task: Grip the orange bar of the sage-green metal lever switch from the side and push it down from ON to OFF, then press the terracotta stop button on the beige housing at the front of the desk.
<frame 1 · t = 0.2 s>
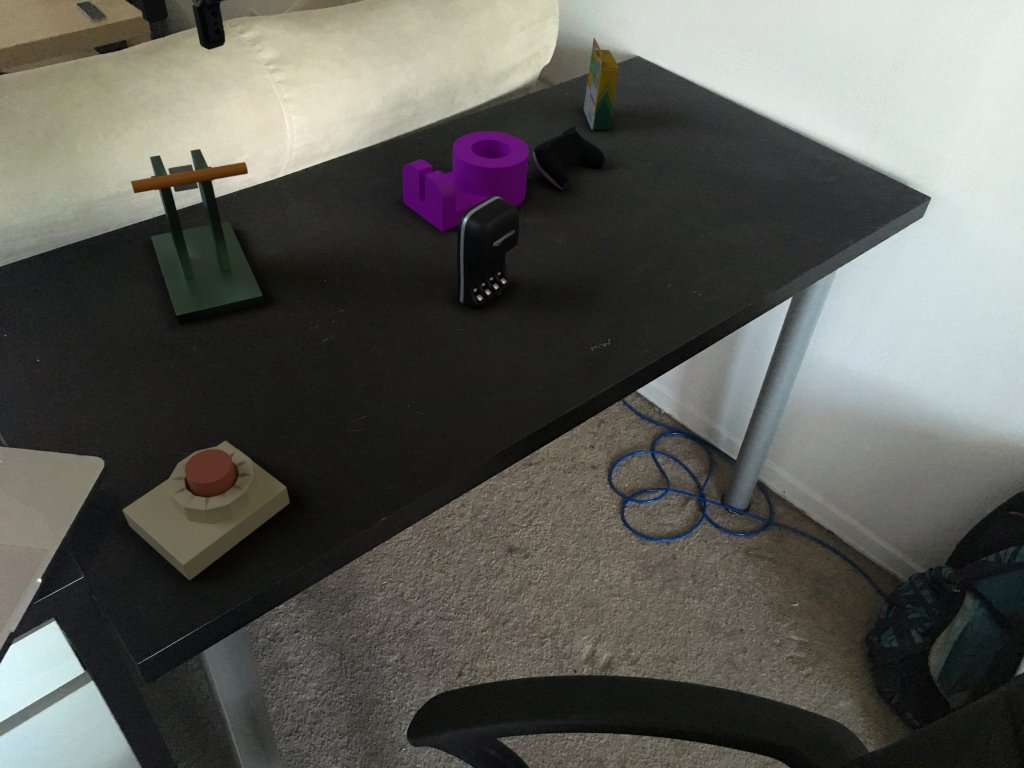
hand: (184, 33, 73), 26 cm above the table, tool pointing down, fingers open, 8 cm apart
stop button: (210, 472, 63), point 4 cm above the table, slide at 0.1 cm
battery charger: (487, 296, 90), on the table
gaming controller: (565, 173, 112), on the table
stop housing: (211, 514, 66), on the table
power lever: (186, 177, 77), point 14 cm above the table, hinge at 28.0°
purple bearing bracket: (471, 199, 105), on the table
crayon box: (596, 121, 125), on the table
switch bracket: (206, 273, 90), on the table
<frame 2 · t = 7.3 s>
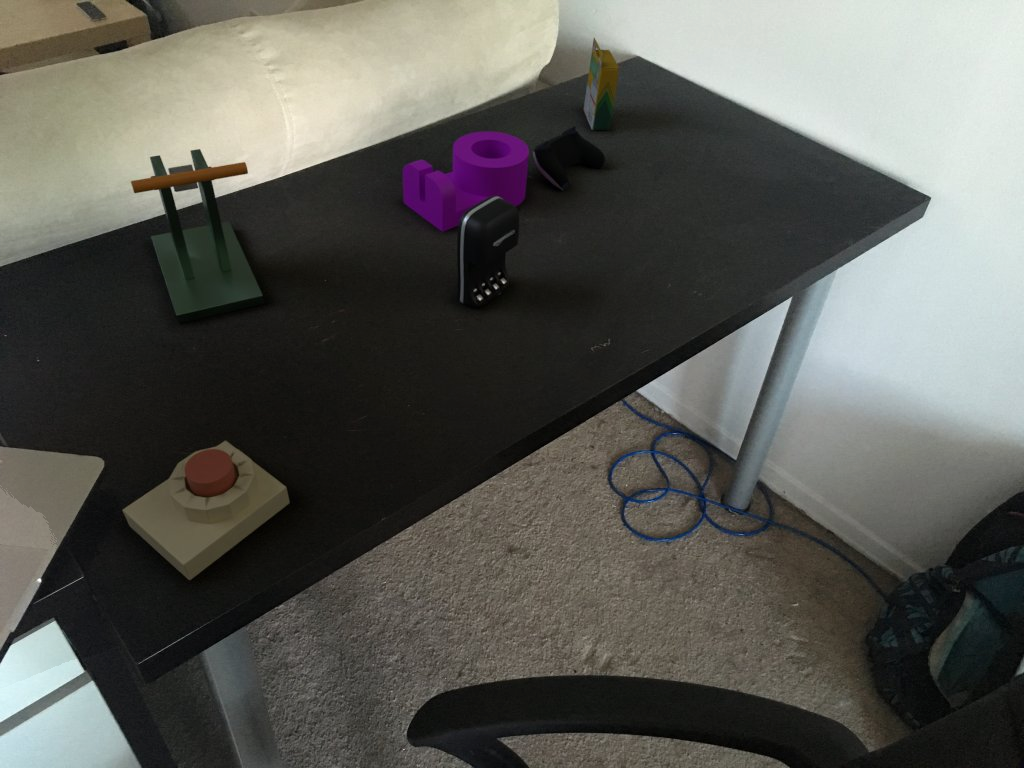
nothing on the table moved.
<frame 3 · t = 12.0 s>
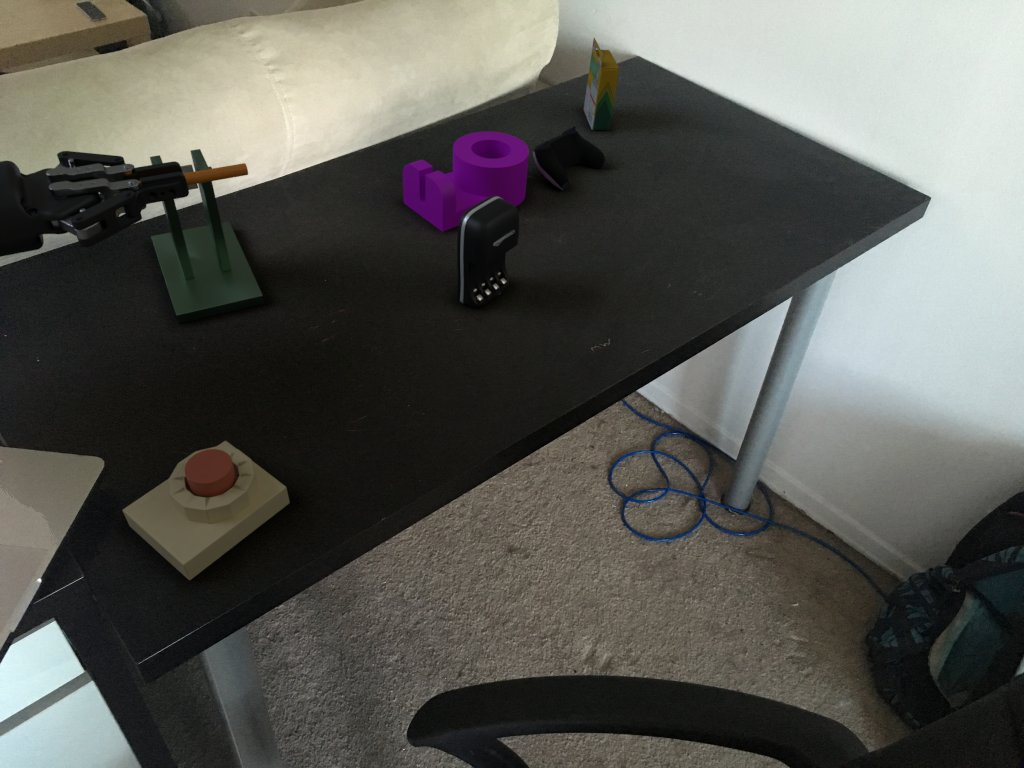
hand: (183, 178, 72), 17 cm above the table, tool horizontal, fingers closed
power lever: (186, 178, 77), point 14 cm above the table, hinge at 27.5°, touching gripper
everything else where it was.
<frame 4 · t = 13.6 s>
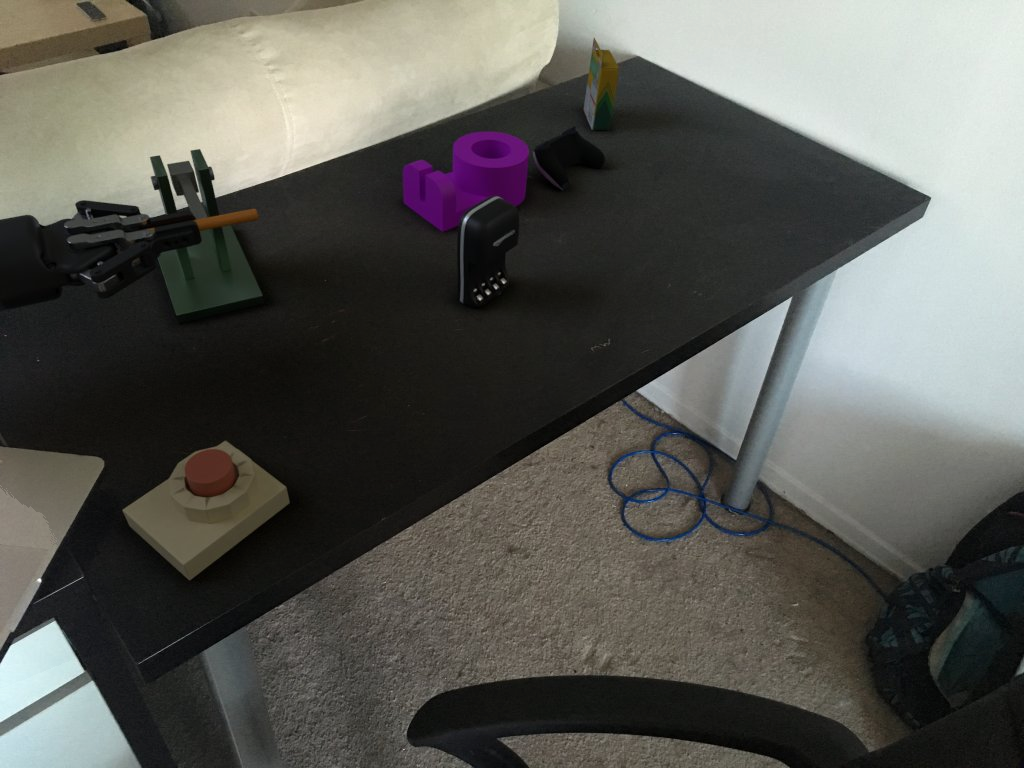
hand: (196, 226, 74), 13 cm above the table, tool horizontal, fingers closed
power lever: (191, 198, 78), point 12 cm above the table, hinge at 4.7°, touching gripper
everything else where it was.
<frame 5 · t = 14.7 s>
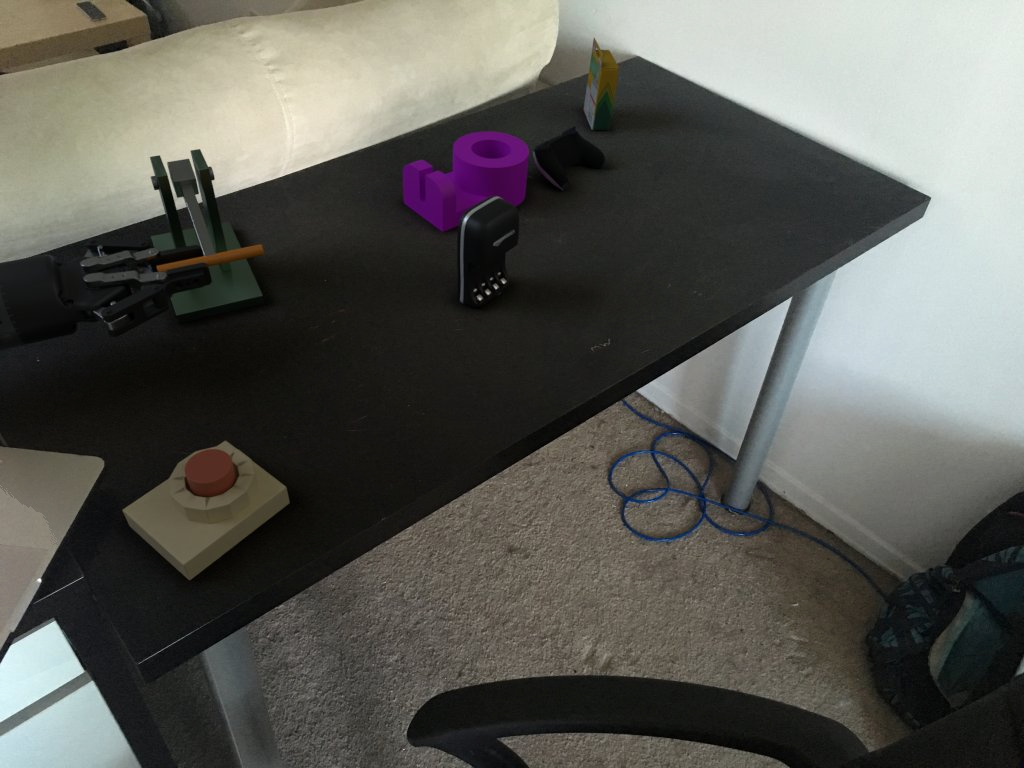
hand: (205, 263, 77), 8 cm above the table, tool horizontal, fingers closed
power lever: (195, 214, 79), point 10 cm above the table, hinge at -18.4°
everything else where it was.
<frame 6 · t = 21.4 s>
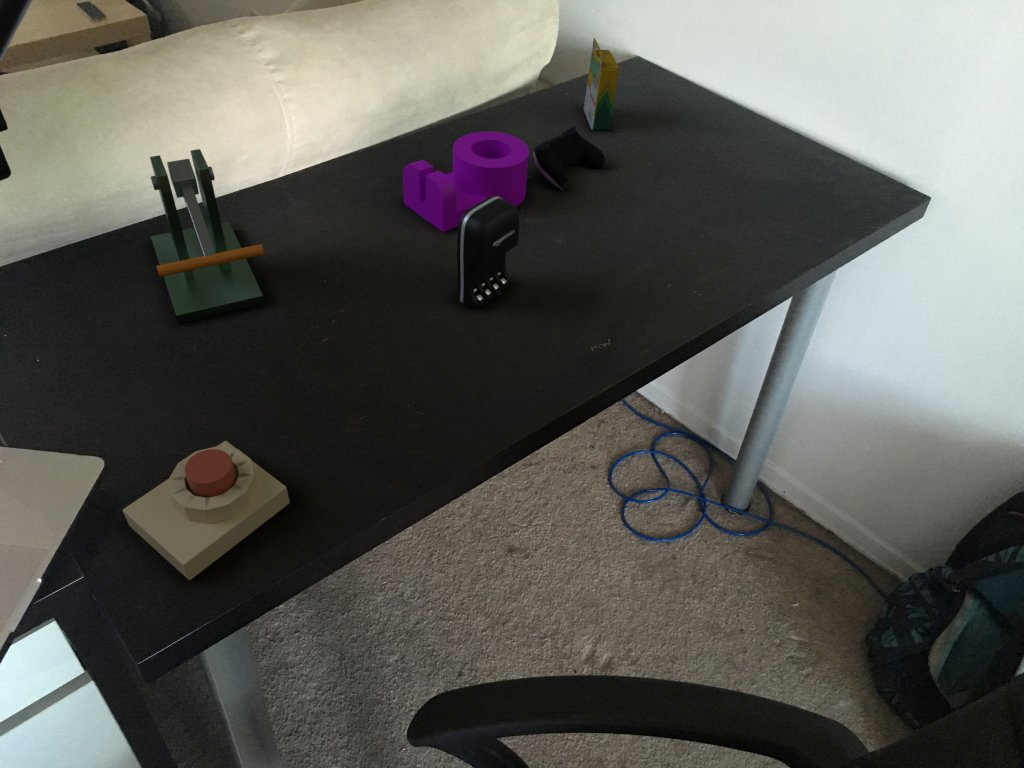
nothing on the table moved.
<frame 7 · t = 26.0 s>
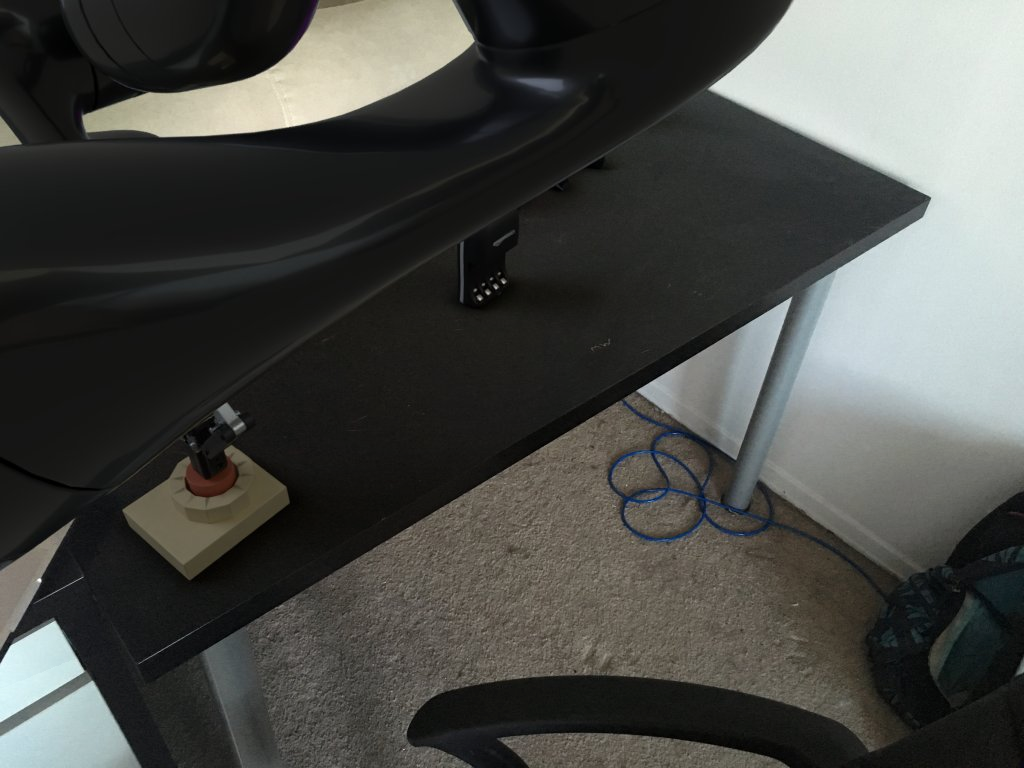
hand: (211, 469, 63), 5 cm above the table, tool pointing down, fingers closed
stop button: (211, 475, 64), point 4 cm above the table, slide at -0.3 cm, touching gripper
everything else where it was.
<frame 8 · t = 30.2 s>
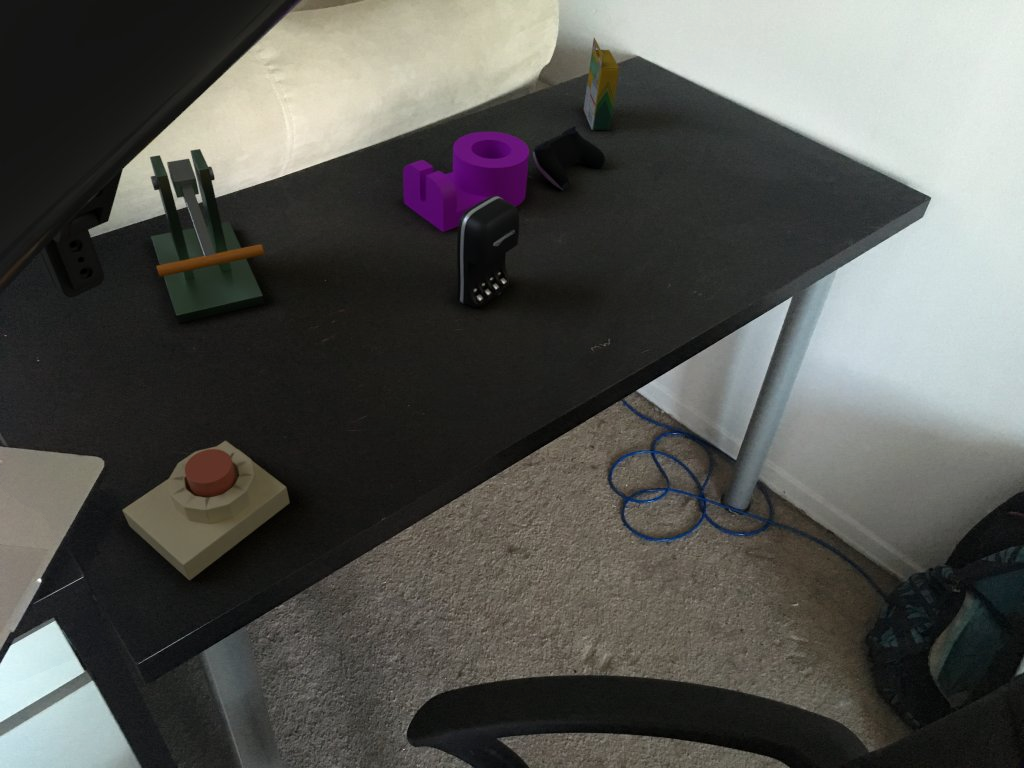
hand: (78, 284, 41), 29 cm above the table, tool pointing down, fingers closed
stop button: (210, 472, 63), point 4 cm above the table, slide at 0.1 cm
everything else where it was.
at the end: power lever at -18° (first picture: +28°); stop button pushed in 1.2 cm at the most during the clip, back to where it started at the end; stop button slide at 0.1 cm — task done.
